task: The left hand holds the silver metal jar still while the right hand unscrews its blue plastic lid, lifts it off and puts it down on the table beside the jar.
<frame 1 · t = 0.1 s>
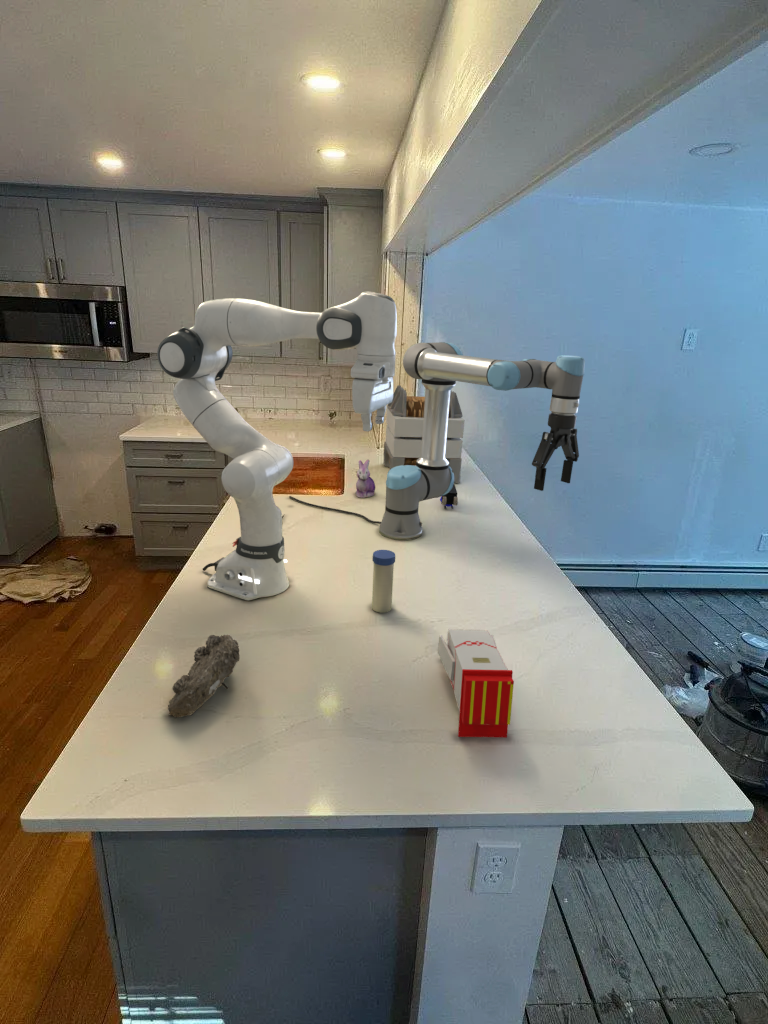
left hand: (373, 427, 135), 48 cm above the counter, tool pointing down, fingers open, 8 cm apart
right hand: (552, 485, 166), 28 cm above the counter, tool pointing down, fingers open, 13 cm apart
feather: (282, 518, 209), on the counter
figurine: (365, 495, 240), on the counter
toy: (469, 691, 119), on the counter
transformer: (419, 473, 275), on the counter
jar: (381, 607, 150), on the counter
lid: (384, 555, 145), point 15 cm above the counter, screwed on, not yet turned
fossil: (210, 687, 116), on the counter
figurine character: (447, 505, 232), on the counter
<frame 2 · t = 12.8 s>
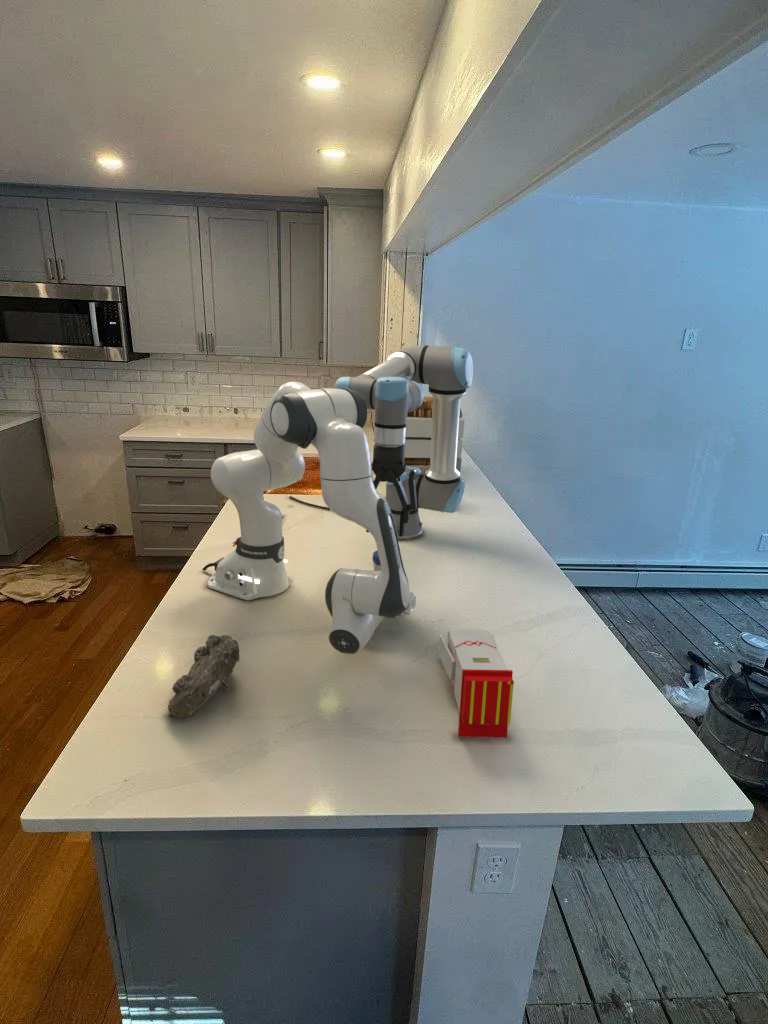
left hand: (383, 584, 149), 7 cm above the counter, tool horizontal, fingers closed on jar, 5 cm apart
right hand: (385, 532, 143), 22 cm above the counter, tool pointing down, fingers open, 8 cm apart
jar: (381, 607, 150), on the counter, touching left hand
everything else where it was.
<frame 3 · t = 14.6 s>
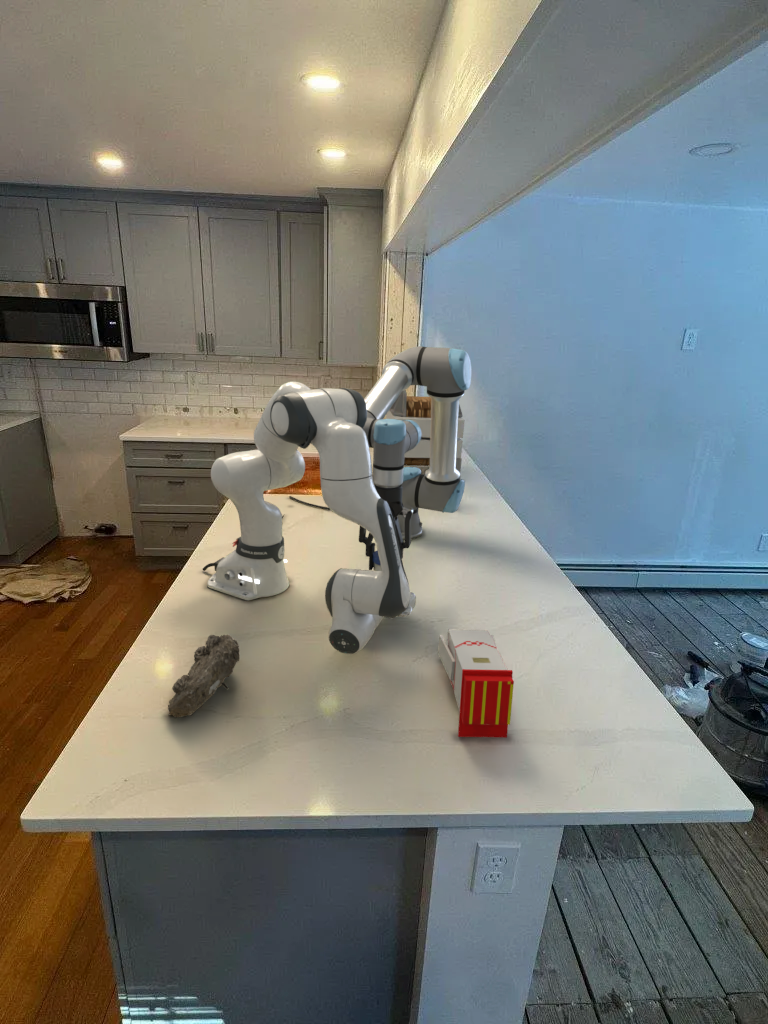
left hand: (383, 584, 149), 7 cm above the counter, tool horizontal, fingers closed on jar, 5 cm apart
right hand: (383, 569, 146), 11 cm above the counter, tool pointing down, fingers closed on lid, 6 cm apart
jar: (381, 607, 150), on the counter, touching left hand
lid: (384, 555, 145), point 15 cm above the counter, screwed on, not yet turned, touching right hand
everything else where it was.
when the right hand's fingers open (12 cm above the counter, at t = 15.9 s): lid stays where it is, point 16 cm above the counter.
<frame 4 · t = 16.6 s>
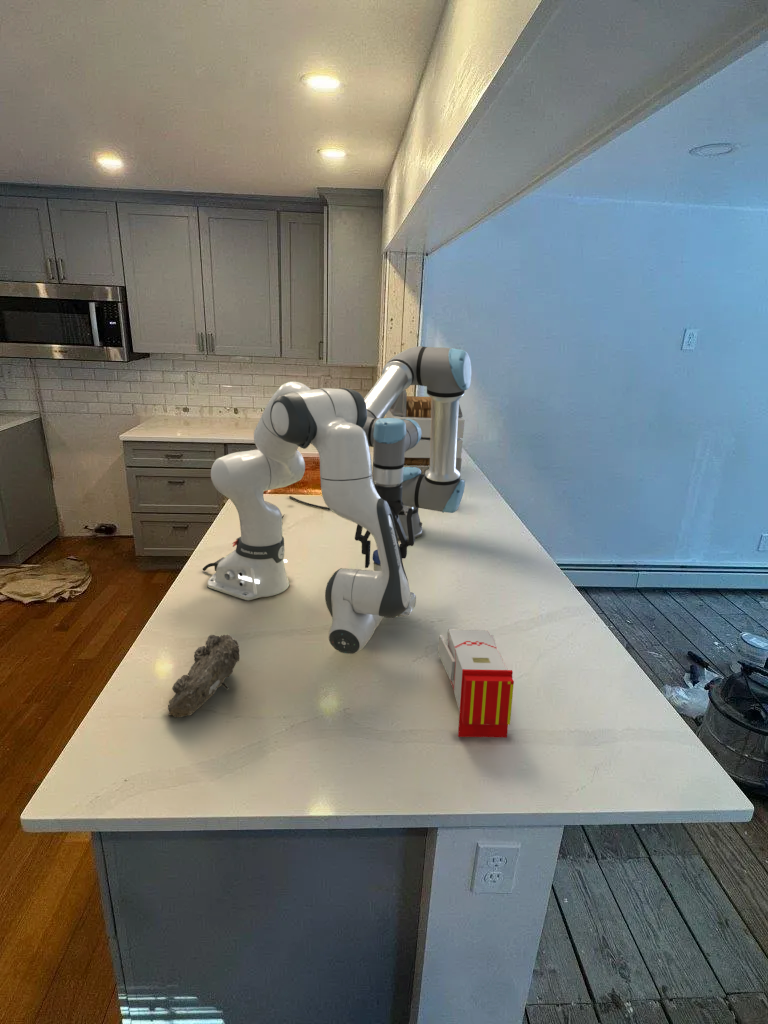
left hand: (383, 584, 149), 7 cm above the counter, tool horizontal, fingers closed on jar, 5 cm apart
right hand: (383, 567, 146), 12 cm above the counter, tool pointing down, fingers open, 8 cm apart
jar: (381, 607, 150), on the counter, touching left hand
lid: (384, 554, 145), point 16 cm above the counter, turned 84° so far, risen 0.3 cm, still on its thread
everything else where it was.
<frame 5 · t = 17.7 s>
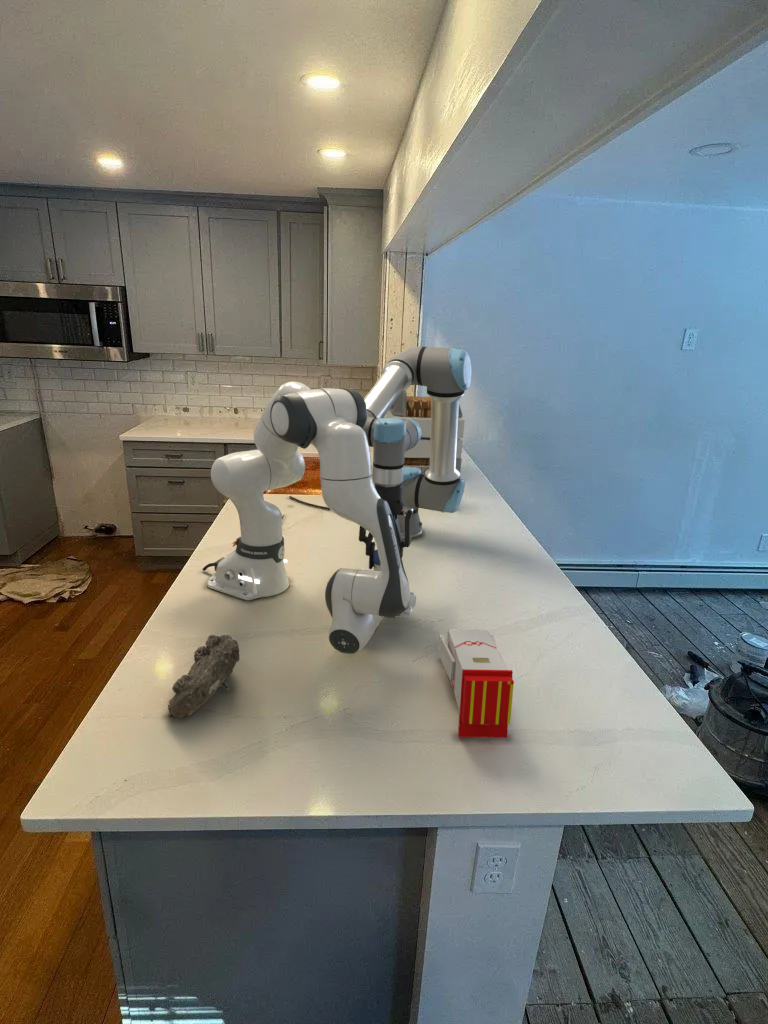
left hand: (383, 584, 149), 7 cm above the counter, tool horizontal, fingers closed on jar, 5 cm apart
right hand: (383, 568, 146), 12 cm above the counter, tool pointing down, fingers closed on lid, 6 cm apart
jar: (381, 607, 150), on the counter, touching left hand
lid: (384, 554, 145), point 15 cm above the counter, turned 84° so far, risen 0.3 cm, still on its thread, touching right hand
everything else where it was.
when the right hand's fingers open (0 cm above the counter, at t = 22.9 s): lid drops 3 cm, point 2 cm above the counter.
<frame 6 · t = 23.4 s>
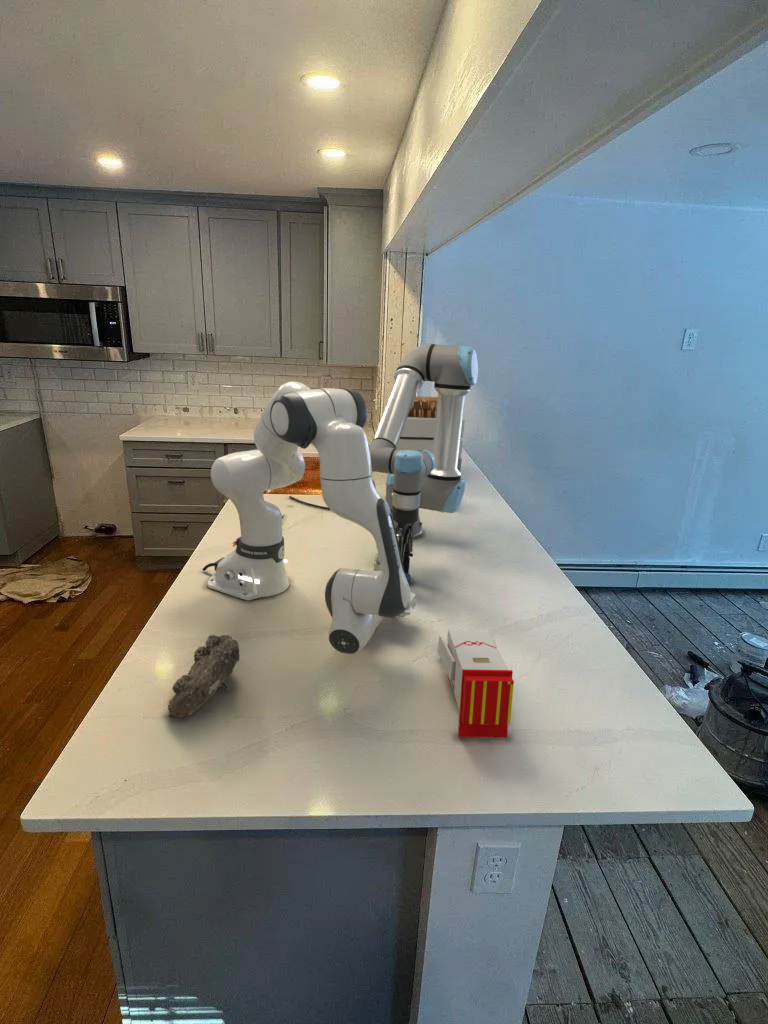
left hand: (383, 584, 149), 7 cm above the counter, tool horizontal, fingers closed on jar, 5 cm apart
right hand: (400, 581, 165), 0 cm above the counter, tool pointing down, fingers open, 6 cm apart
jar: (381, 607, 150), on the counter, touching left hand
lid: (400, 576, 165), point 2 cm above the counter, off its thread
everything else where it was.
when the left hand's fingers open (7 cm above the counter, at t = 24.7 s): jar stays where it is, on the counter.
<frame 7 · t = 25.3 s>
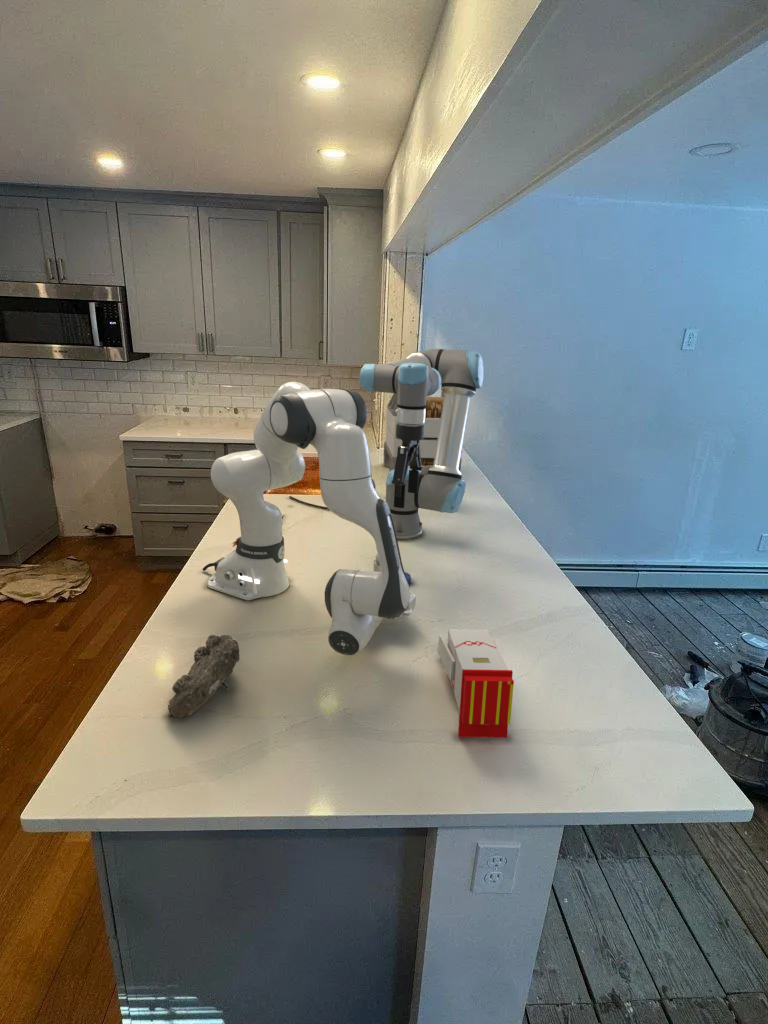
left hand: (383, 584, 148), 7 cm above the counter, tool horizontal, fingers open, 8 cm apart
right hand: (406, 499, 157), 25 cm above the counter, tool pointing down, fingers open, 13 cm apart
jar: (381, 608, 150), on the counter
everything else where it was.
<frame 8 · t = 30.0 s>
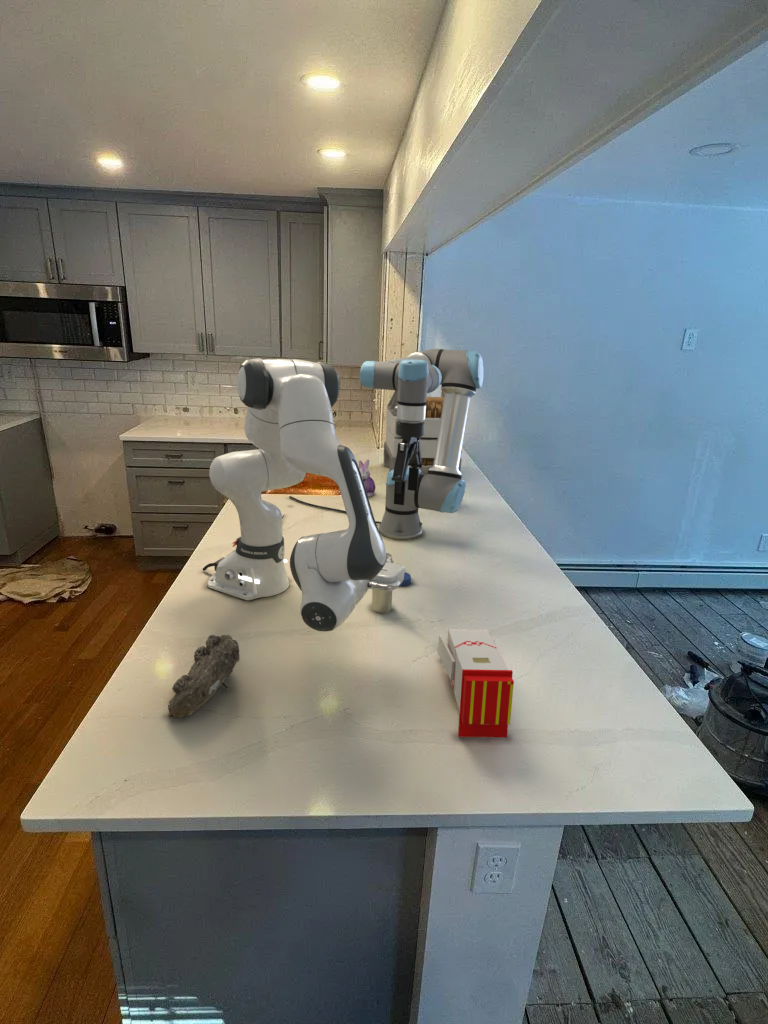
left hand: (368, 556, 131), 20 cm above the counter, tool horizontal, fingers open, 8 cm apart
right hand: (406, 497, 157), 26 cm above the counter, tool pointing down, fingers open, 13 cm apart
nothing on the counter moved.
at the end: lid came off its thread; lid point 1.5 cm above the counter; the left hand is holding nothing; the right hand is holding nothing; jar tilted 0°; jar moved 0.1 cm from its start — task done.
